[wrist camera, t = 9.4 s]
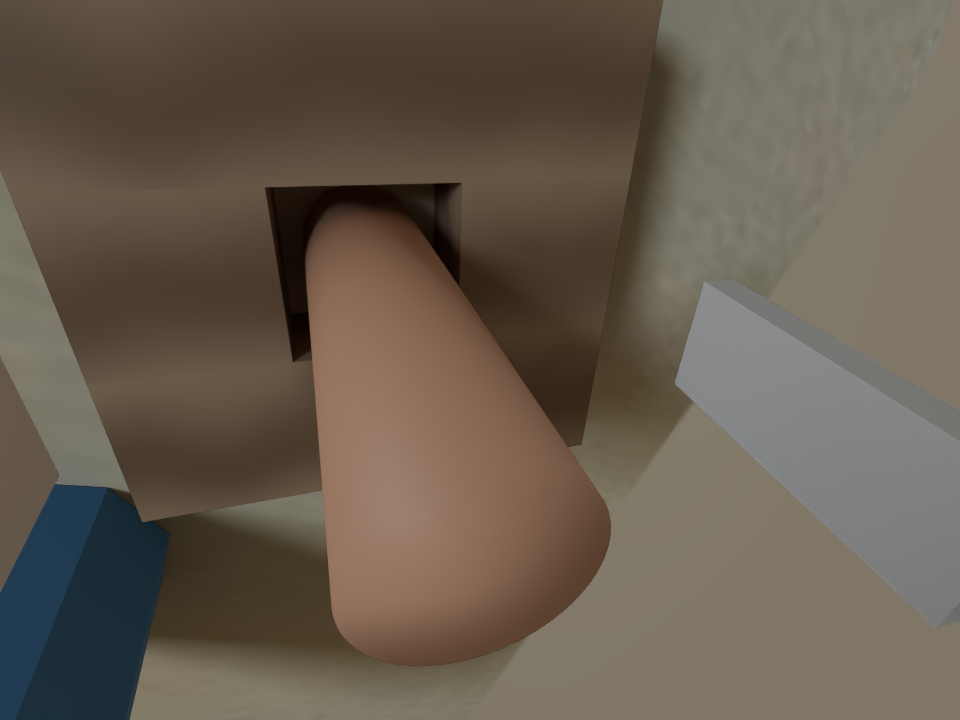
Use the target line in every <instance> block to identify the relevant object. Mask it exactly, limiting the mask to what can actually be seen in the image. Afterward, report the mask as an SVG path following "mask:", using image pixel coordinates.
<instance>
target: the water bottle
mask: <svg viewBox="0 0 960 720" xmlns="http://www.w3.org/2000/svg"><path fill="white" fill-rule="evenodd" d="M168 538H169V533H168V532H167V531H165V530H164V529H163V528H161V527H160V526H158V525H157V524H156V523H154V522H153V521H147V522H142V520H141V518H140V515H139V513H138V510H137V509H135V508H134V507H133V506H131V505H130V504H129V503H127V502H126V501H125V500H123V499H122V498H121V497H119V496H118V495H117V494H115V493H114V492H113V491H111V490H110V489H108V488H103V487H86V486H69V485H54V487H53V489H52V491H51V493H50V495H49V497H48V499H47V501H46V503H45V505H44V507H43V509H42V511H41V512H40V514H39V516H38V518H37V520H36V522H35V524H34V526H33V528H32V530H31V532H30V534H29V536H28V538H27V540H26V542H25V544H24V546H23V548H22V550H21V552H20V554H19V556H18V558H17V560H16V562H15V564H14V566H13V568H12V570H11V572H10V574H9V576H8V578H7V580H6V582H5V584H4V586H3V588H2V590H1V592H0V720H130V715H131V711H132V707H133V702H134V698H135V694H136V689H137V685H138V681H139V676H140V672H141V668H142V663H143V659H144V655H145V650H146V646H147V642H148V637H149V633H150V629H151V624H152V620H153V616H154V611H155V607H156V603H157V598H158V594H159V590H160V585H161V579H162V573H163V567H164V561H165V556H166V550H167V544H168Z"/></svg>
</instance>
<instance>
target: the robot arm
mask: <svg viewBox="0 0 960 720" xmlns="http://www.w3.org/2000/svg"><path fill="white" fill-rule="evenodd" d="M674 384H675V385H676V386H677V387H679V388H680V389H681V390H682V391H683V392H684V393H685V394H686V395H687V396H688V397H689V398H690V399H691V400H692V401H693V402H695V403H696V404H697V405H698V406H699V407H700V408H701V409H702V410H703V411H704V412H705V413H706V414H707V415H709V416H710V417H711V418H712V419H713V420H714V421H715V422H716V423H717V424H718V425H719V426H720V427H721V428H722V429H723V430H725V431H726V432H727V433H728V434H729V435H730V436H731V437H732V438H733V439H734V440H735V441H736V442H737V443H738V444H739V445H740V446H741V447H743V448H744V449H745V450H746V451H747V452H748V453H749V454H750V455H751V456H752V457H753V458H754V459H755V460H756V461H758V462H759V463H760V464H761V465H762V466H763V467H764V468H765V469H766V470H767V471H768V472H769V473H770V474H772V476H773V477H775V478H776V479H777V480H778V481H779V482H780V483H781V484H782V485H783V486H784V487H785V488H786V489H787V490H788V491H790V492H791V493H792V494H793V495H794V496H795V497H796V498H797V499H798V500H799V501H800V502H801V503H802V504H803V505H804V506H806V507H807V508H808V509H809V510H810V511H811V512H812V513H813V514H814V515H815V516H816V517H817V518H818V519H819V520H820V521H822V522H823V523H824V524H825V525H826V526H827V527H828V528H829V529H830V530H831V531H832V532H833V533H834V534H835V535H837V536H838V537H839V538H840V539H841V540H842V541H843V542H844V543H845V544H846V545H847V546H848V547H849V548H850V549H852V551H854V552H855V553H856V554H857V555H858V556H859V557H860V558H861V559H862V560H863V561H864V562H865V563H866V564H867V565H869V567H871V568H872V569H873V570H874V571H875V572H876V573H877V574H878V575H879V576H880V577H881V578H882V579H883V580H884V581H886V582H887V583H888V584H889V585H890V586H891V587H892V588H893V589H894V590H895V591H896V592H897V593H898V594H899V595H900V596H901V597H903V598H904V599H905V600H906V601H907V602H908V603H909V604H910V605H911V606H912V607H913V608H914V609H915V610H917V611H918V612H919V613H920V614H921V615H922V616H923V617H924V618H925V619H926V620H927V621H928V622H929V623H931V625H933V626H934V627H935V628H936V629H938V628H941V627H943V626H946V625H949V624H952V623H955V622H957V621H960V411H959V410H958V409H956V408H954V407H952V406H951V405H949V404H947V403H946V402H944V401H942V400H940V399H939V398H937V397H935V396H934V395H932V394H930V393H928V392H927V391H925V390H923V389H921V388H920V387H918V386H916V385H915V384H913V383H911V382H909V381H908V380H906V379H904V378H903V377H901V376H899V375H897V374H896V373H894V372H892V371H890V370H888V369H887V368H885V367H883V366H882V365H880V364H878V363H877V362H875V361H873V360H871V359H870V358H868V357H866V356H865V355H863V354H861V353H859V352H858V351H856V350H854V349H852V348H851V347H849V346H847V345H846V344H844V343H842V342H840V341H839V340H836V339H835V338H833V337H832V336H830V335H828V334H827V333H825V332H823V331H821V330H820V329H818V328H816V327H814V326H813V325H811V324H809V323H807V322H806V321H804V320H803V319H801V318H799V317H797V316H796V315H794V314H792V313H790V312H789V311H787V310H785V309H784V308H782V307H780V306H778V305H777V304H775V303H773V302H771V301H770V300H768V299H766V298H765V297H763V296H761V295H759V294H758V293H756V292H754V291H753V290H751V289H749V288H747V287H746V286H744V285H742V284H740V283H739V282H737V281H735V280H734V279H728V280H717V281H705V282H704V285H703V289H702V292H701V295H700V299H699V302H698V305H697V309H696V312H695V316H694V319H693V322H692V326H691V329H690V333H689V336H688V339H687V343H686V346H685V350H684V353H683V356H682V360H681V363H680V367H679V370H678V373H677V377H676V380H675V383H674ZM58 477H59V473H58V471H57V469H56V467H55V465H54V463H53V461H52V459H51V457H50V455H49V453H48V451H47V449H46V447H45V445H44V443H43V441H42V439H41V437H40V435H39V433H38V431H37V429H36V427H35V425H34V423H33V421H32V419H31V417H30V415H29V413H28V411H27V409H26V407H25V405H24V403H23V401H22V399H21V397H20V395H19V393H18V391H17V389H16V387H15V385H14V383H13V381H12V379H11V377H10V375H9V373H8V371H7V369H6V367H5V365H4V363H3V361H2V359H1V357H0V592H1V590H2V588H3V586H4V584H5V582H6V580H7V578H8V576H9V574H10V572H11V570H12V568H13V566H14V564H15V562H16V560H17V558H18V556H19V554H20V552H21V550H22V548H23V546H24V544H25V542H26V540H27V538H28V536H29V534H30V532H31V530H32V528H33V526H34V524H35V522H36V520H37V518H38V516H39V514H40V512H41V511H42V509H43V507H44V505H45V503H46V501H47V499H48V497H49V495H50V493H51V491H52V489H53V487H54V485H55V483H56V481H57V479H58Z"/></svg>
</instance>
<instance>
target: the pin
mask: <svg viewBox="0 0 960 720" xmlns="http://www.w3.org/2000/svg"><path fill="white" fill-rule="evenodd" d="M303 247H304V260H305V272H306V285H307V298H308V311H309V324H310V337H311V349H312V362H313V375H314V388H315V401H316V414H317V426H318V439H319V452H320V465H321V478H322V491H323V503H324V516H325V529H326V542H327V555H328V568H329V580H330V593H331V606H332V614H333V617H334V621H335V624H336V626H337V628H338V629H339V631H340V633H341V635H342V636H343V637H344V638H345V639H346V640H347V642H348V643H349V644H351V645H352V646H353V647H354V648H356V649H357V650H358V651H360V652H362V653H364V654H366V655H368V656H369V657H372V658H375V659H378V660H380V661H383V662H388V663H393V664H398V665H408V666H432V665H443V664H449V663H455V662H460V661H465V660H469V659H473V658H476V657H479V656H483V655H486V654H489V653H492V652H494V651H497V650H499V649H502V648H504V647H507V646H509V645H511V644H513V643H515V642H517V641H519V640H521V639H523V638H525V637H526V636H528V635H530V634H532V633H533V632H535V631H537V630H538V629H540V628H541V627H543V626H544V625H546V624H547V623H549V622H550V621H551V620H553V619H554V618H555V617H557V616H558V615H559V614H561V613H562V612H563V611H564V610H565V609H566V608H567V607H568V606H570V605H571V604H572V603H573V602H574V600H576V599H577V597H579V595H580V594H581V593H582V592H583V591H584V590H585V589H586V587H587V586H588V585H589V583H590V582H591V581H592V579H593V578H594V576H595V575H596V573H597V572H598V570H599V568H600V566H601V564H602V562H603V560H604V558H605V555H606V552H607V549H608V546H609V541H610V535H611V521H610V516H609V511H608V509H607V506H606V504H605V502H604V500H603V498H602V497H601V495H600V494H599V492H598V491H597V489H596V488H595V487H594V485H593V484H592V482H591V481H590V479H589V478H588V476H587V475H586V473H585V472H584V470H583V469H582V467H581V466H580V464H579V463H578V461H577V460H576V459H575V457H574V456H573V454H572V453H571V451H570V450H569V448H568V447H567V445H566V444H565V442H564V441H563V439H562V438H561V436H560V435H559V434H558V432H557V431H556V429H555V428H554V426H553V425H552V423H551V422H550V420H549V419H548V417H547V416H546V414H545V413H544V411H543V410H542V408H541V407H540V406H539V404H538V403H537V401H536V400H535V398H534V397H533V395H532V394H531V392H530V391H529V389H528V388H527V386H526V385H525V383H524V382H523V380H522V379H521V378H520V376H519V375H518V373H517V372H516V370H515V369H514V367H513V366H512V364H511V363H510V361H509V360H508V358H507V357H506V355H505V354H504V352H503V351H502V350H501V348H500V347H499V345H498V344H497V342H496V341H495V339H494V338H493V336H492V335H491V333H490V332H489V330H488V329H487V327H486V326H485V325H484V323H483V322H482V320H481V319H480V317H479V316H478V314H477V313H476V311H475V310H474V308H473V307H472V305H471V304H470V302H469V301H468V299H467V298H466V297H465V295H464V294H463V292H462V291H461V289H460V288H459V286H458V285H457V283H456V282H455V280H454V279H453V277H452V276H451V274H450V273H449V271H448V270H447V269H446V267H445V266H444V264H443V263H442V261H441V260H440V258H439V257H438V255H437V254H436V252H435V251H434V249H433V248H432V246H431V245H430V243H429V242H428V241H427V239H426V238H425V236H424V235H423V233H422V232H421V230H420V229H419V227H418V226H417V224H416V223H415V221H414V220H413V218H412V217H411V215H410V214H409V213H408V211H407V210H406V208H405V207H404V205H403V204H402V203H401V202H400V201H399V200H398V199H397V198H396V197H395V196H394V195H393V194H391V193H389V192H388V191H386V190H384V189H382V188H380V187H377V186H374V185H341V186H338V187H336V188H333V189H331V190H330V191H328V192H326V193H325V194H324V195H322V196H321V197H320V198H319V199H318V200H317V201H316V202H315V203H314V204H313V206H312V207H311V209H310V211H309V212H308V214H307V217H306V219H305V223H304V227H303Z"/></svg>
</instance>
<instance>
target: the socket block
mask: <svg viewBox="0 0 960 720" xmlns="http://www.w3.org/2000/svg"><path fill="white" fill-rule="evenodd" d="M662 4H663V0H0V171H1V173H2V175H3V178H4V180H5V183H6V185H7V188H8V190H9V193H10V195H11V198H12V200H13V203H14V205H15V208H16V210H17V213H18V215H19V218H20V220H21V223H22V225H23V228H24V230H25V233H26V235H27V237H28V240H29V242H30V245H31V247H32V250H33V252H34V255H35V257H36V260H37V262H38V265H39V267H40V270H41V272H42V275H43V277H44V280H45V282H46V285H47V287H48V290H49V292H50V295H51V297H52V300H53V302H54V304H55V307H56V309H57V312H58V314H59V317H60V319H61V322H62V324H63V327H64V329H65V332H66V334H67V337H68V339H69V342H70V344H71V347H72V349H73V352H74V354H75V357H76V359H77V362H78V364H79V367H80V369H81V371H82V374H83V376H84V379H85V381H86V384H87V386H88V389H89V391H90V394H91V396H92V399H93V401H94V404H95V406H96V409H97V411H98V414H99V416H100V419H101V421H102V424H103V426H104V429H105V431H106V434H107V436H108V438H109V441H110V443H111V446H112V448H113V451H114V453H115V456H116V458H117V461H118V463H119V466H120V468H121V471H122V473H123V476H124V478H125V481H126V483H127V486H128V488H129V491H130V493H131V496H132V498H133V501H134V503H135V505H136V508H137V510H138V513H139V515H140V518H141V520H142V522H147V521H152V520H158V519H164V518H169V517H175V516H181V515H186V514H192V513H197V512H203V511H209V510H214V509H220V508H226V507H231V506H237V505H243V504H248V503H254V502H260V501H265V500H271V499H277V498H282V497H288V496H294V495H299V494H305V493H311V492H316V491H322V478H321V465H320V452H319V439H318V426H317V414H316V401H315V388H314V375H313V362H312V349H311V337H310V324H309V311H308V298H307V285H306V272H305V260H304V247H303V227H304V223H305V219H306V217H307V214H308V212H309V211H310V209H311V207H312V206H313V204H314V203H315V202H316V201H317V200H318V199H319V198H320V197H321V196H322V195H324V194H325V193H326V192H328V191H330V190H331V189H333V188H336V187H338V186H341V185H374V186H377V187H380V188H382V189H384V190H386V191H388V192H389V193H391V194H393V195H394V196H395V197H396V198H397V199H398V200H399V201H400V202H401V203H402V204H403V205H404V207H405V208H406V210H407V211H408V213H409V214H410V215H411V217H412V218H413V220H414V221H415V223H416V224H417V226H418V227H419V229H420V230H421V232H422V233H423V235H424V236H425V238H426V239H427V241H428V242H429V243H430V245H431V246H432V248H433V249H434V251H435V252H436V254H437V255H438V257H439V258H440V260H441V261H442V263H443V264H444V266H445V267H446V269H447V270H448V271H449V273H450V274H451V276H452V277H453V279H454V280H455V282H456V283H457V285H458V286H459V288H460V289H461V291H462V292H463V294H464V295H465V297H466V298H467V299H468V301H469V302H470V304H471V305H472V307H473V308H474V310H475V311H476V313H477V314H478V316H479V317H480V319H481V320H482V322H483V323H484V325H485V326H486V327H487V329H488V330H489V332H490V333H491V335H492V336H493V338H494V339H495V341H496V342H497V344H498V345H499V347H500V348H501V350H502V351H503V352H504V354H505V355H506V357H507V358H508V360H509V361H510V363H511V364H512V366H513V367H514V369H515V370H516V372H517V373H518V375H519V376H520V378H521V379H522V380H523V382H524V383H525V385H526V386H527V388H528V389H529V391H530V392H531V394H532V395H533V397H534V398H535V400H536V401H537V403H538V404H539V406H540V407H541V408H542V410H543V411H544V413H545V414H546V416H547V417H548V419H549V420H550V422H551V423H552V425H553V426H554V428H555V429H556V431H557V432H558V434H559V435H560V436H561V438H562V439H563V441H564V442H565V444H566V445H567V447H571V446H576V445H581V444H582V439H583V433H584V428H585V422H586V417H587V412H588V406H589V401H590V395H591V390H592V384H593V379H594V374H595V368H596V363H597V357H598V352H599V346H600V341H601V336H602V330H603V325H604V319H605V314H606V308H607V303H608V298H609V292H610V287H611V281H612V276H613V270H614V265H615V260H616V254H617V249H618V243H619V238H620V232H621V227H622V222H623V216H624V211H625V205H626V200H627V194H628V189H629V183H630V178H631V173H632V167H633V162H634V156H635V151H636V145H637V140H638V135H639V129H640V124H641V118H642V113H643V107H644V102H645V97H646V91H647V86H648V80H649V75H650V69H651V64H652V59H653V53H654V48H655V42H656V37H657V31H658V26H659V21H660V15H661V10H662Z"/></svg>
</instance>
